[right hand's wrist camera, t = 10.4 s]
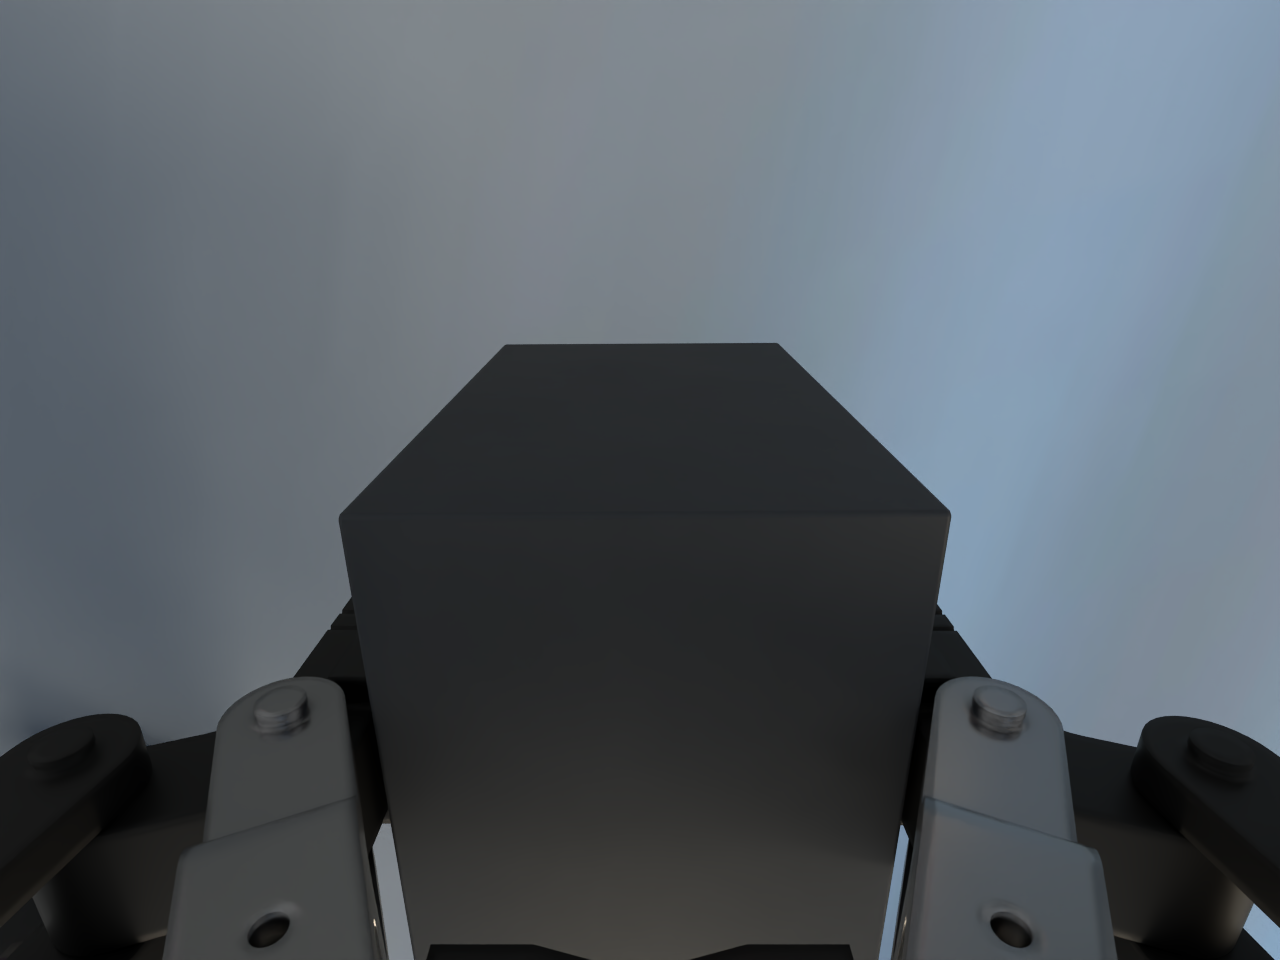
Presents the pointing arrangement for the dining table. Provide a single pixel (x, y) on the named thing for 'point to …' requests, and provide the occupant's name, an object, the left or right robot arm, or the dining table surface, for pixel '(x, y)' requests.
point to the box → (645, 654)
